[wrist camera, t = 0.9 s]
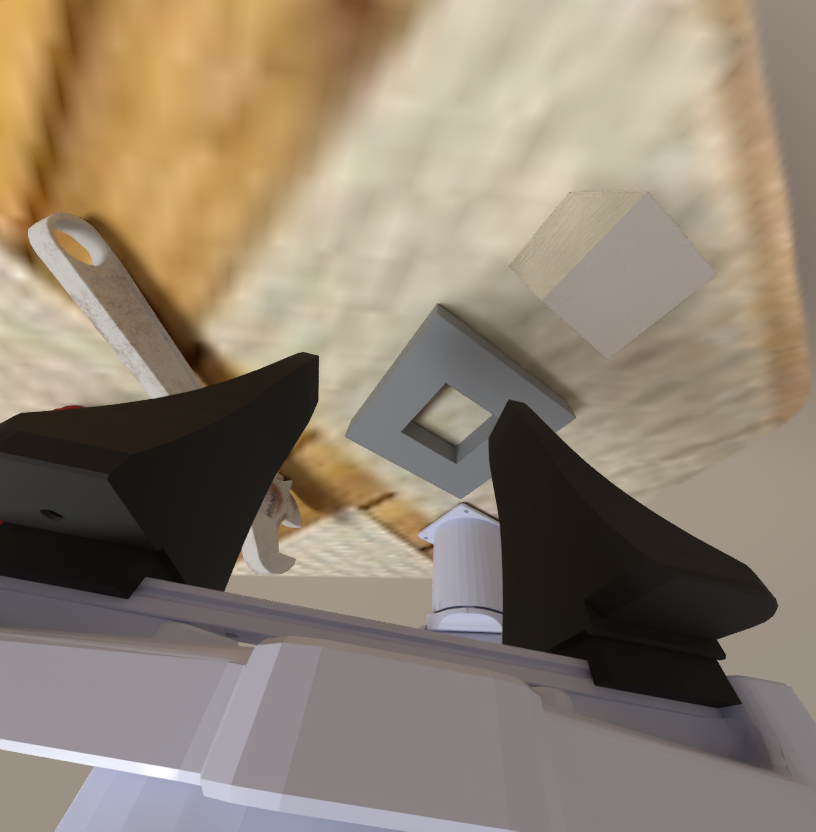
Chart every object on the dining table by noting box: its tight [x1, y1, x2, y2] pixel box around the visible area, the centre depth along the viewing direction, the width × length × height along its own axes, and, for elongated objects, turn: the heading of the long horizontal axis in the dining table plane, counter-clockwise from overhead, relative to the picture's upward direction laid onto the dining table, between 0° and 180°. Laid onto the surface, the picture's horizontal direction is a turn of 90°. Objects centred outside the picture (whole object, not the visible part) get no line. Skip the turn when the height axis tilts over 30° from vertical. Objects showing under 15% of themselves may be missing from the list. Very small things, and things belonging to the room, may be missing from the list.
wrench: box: [28, 213, 302, 575], centre depth 23 cm, size 8×2×30 cm
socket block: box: [345, 303, 576, 499], centre depth 22 cm, size 12×12×2 cm
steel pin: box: [509, 191, 717, 359], centre depth 13 cm, size 4×4×7 cm
